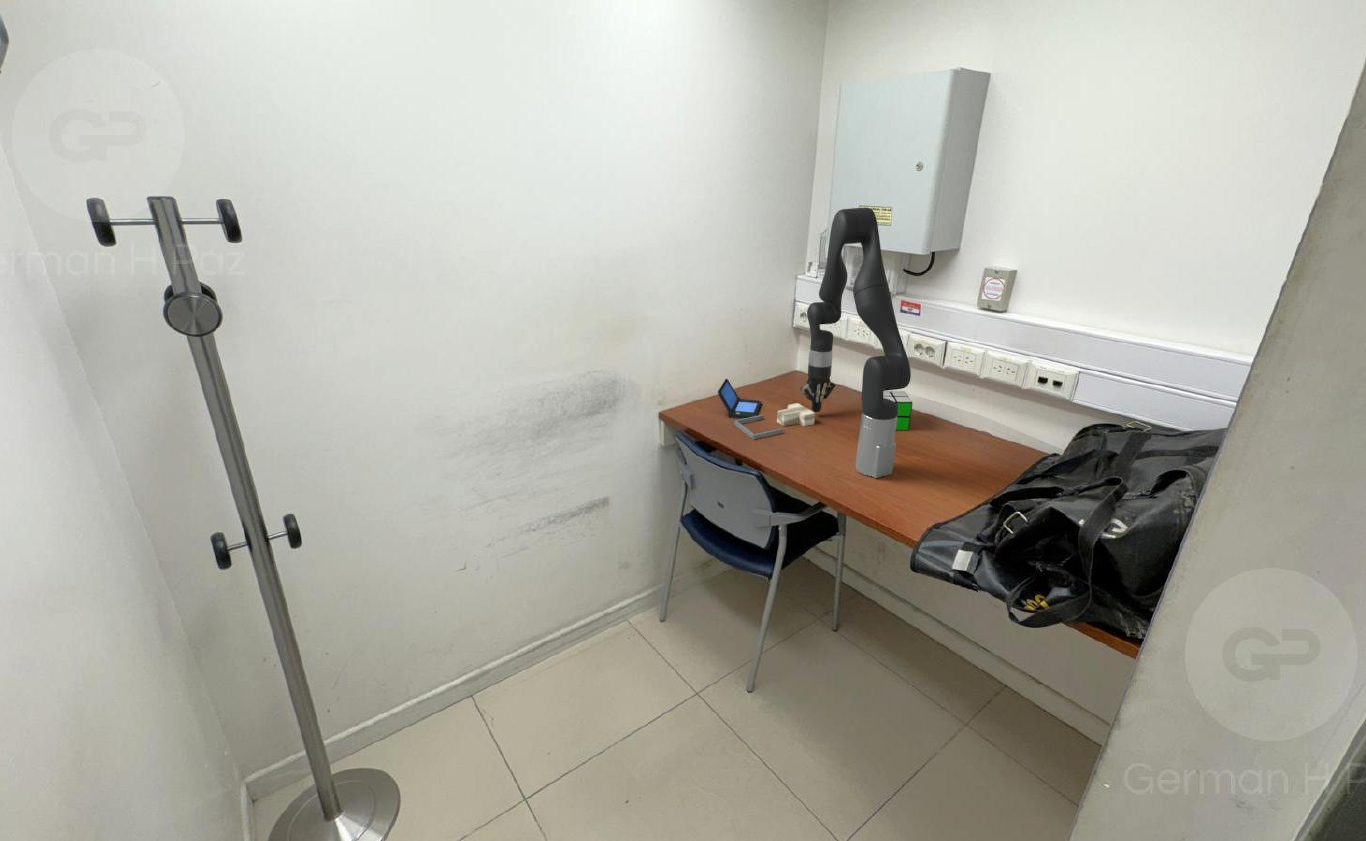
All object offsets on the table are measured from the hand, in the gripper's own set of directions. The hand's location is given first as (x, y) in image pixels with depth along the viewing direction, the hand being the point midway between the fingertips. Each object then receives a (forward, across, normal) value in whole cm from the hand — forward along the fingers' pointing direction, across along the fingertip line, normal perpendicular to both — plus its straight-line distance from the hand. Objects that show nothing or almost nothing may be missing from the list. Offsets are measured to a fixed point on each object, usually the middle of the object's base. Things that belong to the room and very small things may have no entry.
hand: (816, 411), depth 198 cm
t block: (+2, -9, 0) cm, 10 cm away
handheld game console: (+2, -20, +17) cm, 26 cm away
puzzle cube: (+2, +18, -16) cm, 24 cm away
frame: (+2, -23, 0) cm, 23 cm away
